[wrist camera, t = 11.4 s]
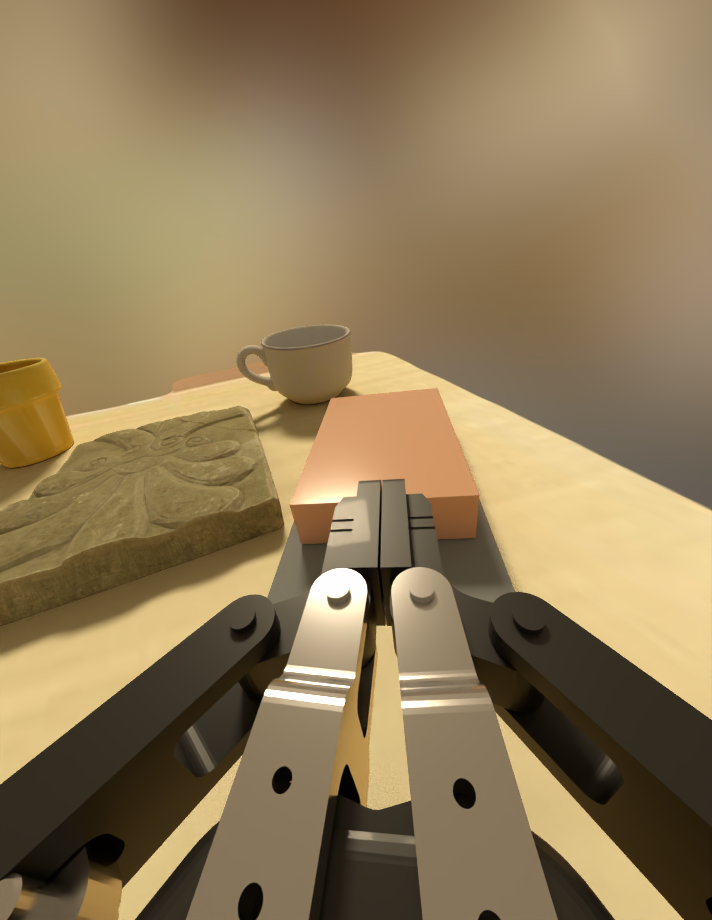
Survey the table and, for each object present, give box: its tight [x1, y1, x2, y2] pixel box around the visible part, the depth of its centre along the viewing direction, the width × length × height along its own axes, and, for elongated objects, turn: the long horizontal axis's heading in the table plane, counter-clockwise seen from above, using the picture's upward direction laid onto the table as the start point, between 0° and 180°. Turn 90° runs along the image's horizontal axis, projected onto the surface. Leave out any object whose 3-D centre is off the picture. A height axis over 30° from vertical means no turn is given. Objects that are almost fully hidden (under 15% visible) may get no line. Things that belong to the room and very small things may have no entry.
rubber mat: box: [268, 500, 515, 615], centre depth 24 cm, size 12×21×1 cm, turn 175°
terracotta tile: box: [290, 388, 479, 544], centre depth 25 cm, size 10×3×16 cm
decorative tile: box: [0, 406, 284, 626], centre depth 27 cm, size 19×20×4 cm
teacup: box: [237, 325, 352, 404], centre depth 41 cm, size 14×11×8 cm
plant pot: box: [0, 358, 74, 468], centre depth 36 cm, size 10×10×10 cm
